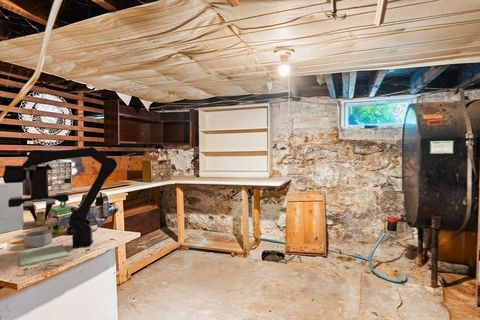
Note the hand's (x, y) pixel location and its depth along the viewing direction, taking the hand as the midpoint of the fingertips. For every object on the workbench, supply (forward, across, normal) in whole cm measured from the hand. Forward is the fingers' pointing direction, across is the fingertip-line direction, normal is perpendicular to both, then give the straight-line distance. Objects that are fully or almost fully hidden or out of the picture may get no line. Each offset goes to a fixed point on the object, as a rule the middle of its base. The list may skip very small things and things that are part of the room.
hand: (40, 221), depth 107 cm
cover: (+1, 0, 0) cm, 1 cm away
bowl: (+12, +1, -10) cm, 15 cm away
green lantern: (+12, -9, -26) cm, 30 cm away
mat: (+12, 0, +6) cm, 13 cm away
